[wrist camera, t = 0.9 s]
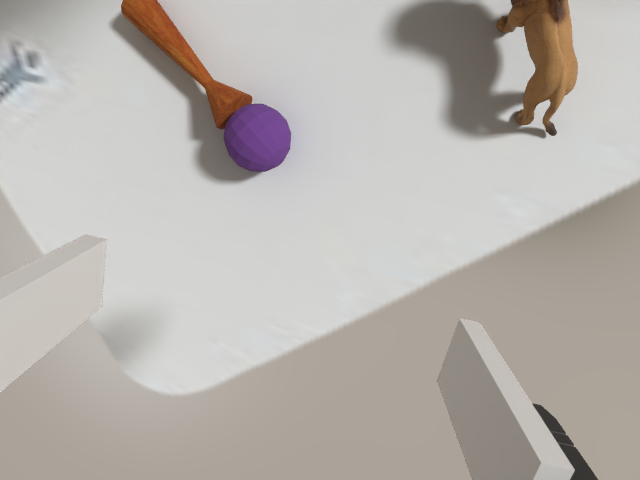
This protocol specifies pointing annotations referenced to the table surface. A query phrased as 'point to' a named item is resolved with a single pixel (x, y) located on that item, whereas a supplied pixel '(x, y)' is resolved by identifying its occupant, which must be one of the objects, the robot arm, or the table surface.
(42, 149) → the table surface
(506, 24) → the lion figurine
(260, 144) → the purple and orange maraca
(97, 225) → the table surface
